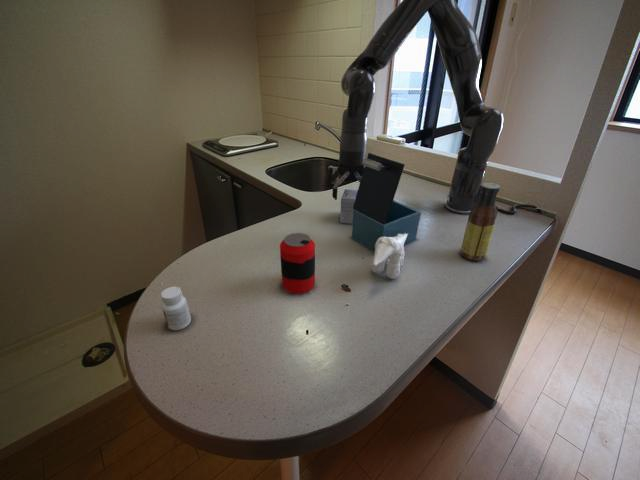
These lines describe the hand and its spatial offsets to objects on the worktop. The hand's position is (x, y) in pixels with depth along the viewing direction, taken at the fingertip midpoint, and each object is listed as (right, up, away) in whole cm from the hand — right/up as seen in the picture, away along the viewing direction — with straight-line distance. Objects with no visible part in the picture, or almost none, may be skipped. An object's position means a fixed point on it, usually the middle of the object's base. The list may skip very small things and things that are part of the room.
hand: (349, 199), depth 100 cm
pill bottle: (-37, -29, -37) cm, 60 cm away
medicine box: (0, -6, +4) cm, 7 cm away
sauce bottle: (+32, -17, -15) cm, 39 cm away
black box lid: (+6, 0, -18) cm, 19 cm away
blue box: (+9, -12, -7) cm, 17 cm away
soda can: (-14, -23, -26) cm, 38 cm away
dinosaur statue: (+8, -20, -20) cm, 30 cm away
